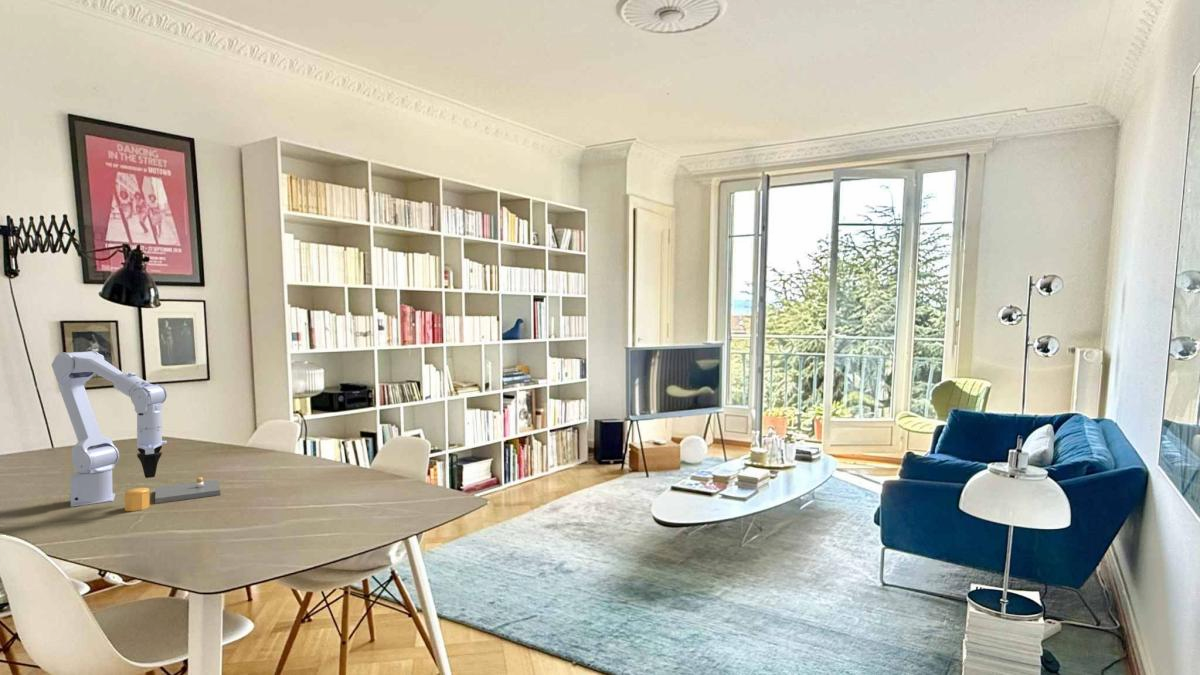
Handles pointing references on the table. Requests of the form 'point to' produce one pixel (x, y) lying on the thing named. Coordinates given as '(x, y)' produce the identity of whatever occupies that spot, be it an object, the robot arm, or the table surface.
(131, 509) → the orange acorn nut
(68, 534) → the table surface
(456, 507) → the table surface
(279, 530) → the table surface
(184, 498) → the plate
